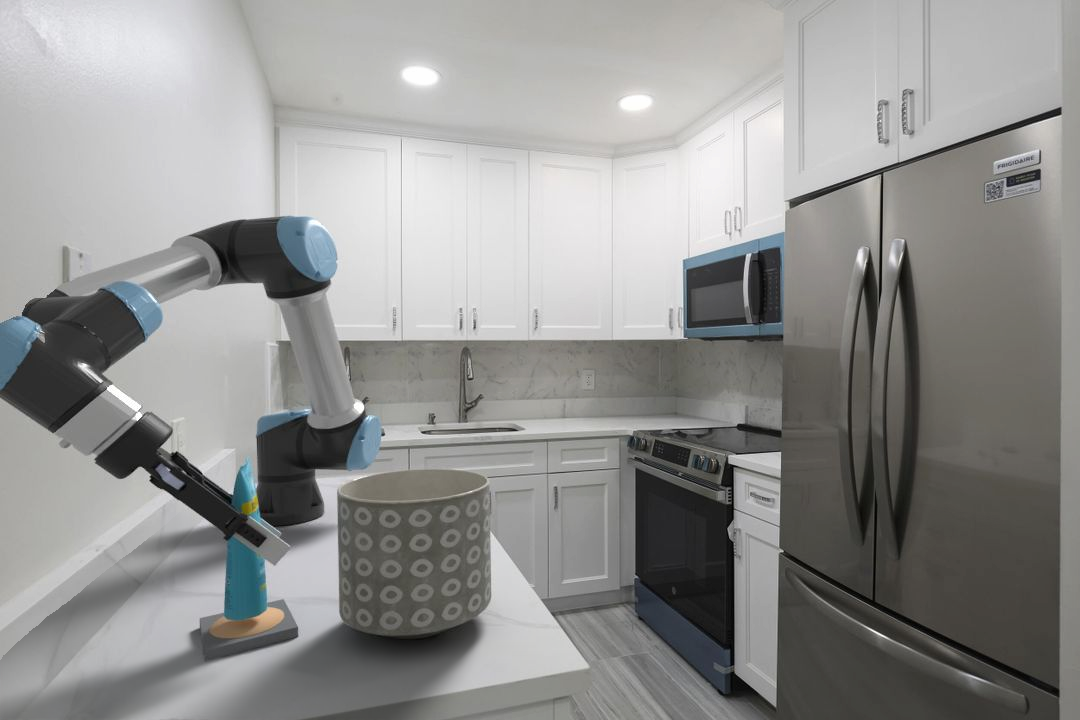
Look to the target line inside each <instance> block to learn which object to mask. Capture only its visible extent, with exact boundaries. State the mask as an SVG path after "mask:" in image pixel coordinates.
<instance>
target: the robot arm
mask: <svg viewBox="0 0 1080 720" xmlns="http://www.w3.org/2000/svg"><path fill="white" fill-rule="evenodd" d="M338 259H339V258H338V252H337V247H336V244H335V241H334V240H333V237H332V235H331V233H330V232H329V231H328V229H327V228H326V227H325V225H324V224H323V223H320V221H319V220H318V219H316V218H314V217H310V216H295V215H285V216H284V215H283V216H282V215H281V216H272V217H260V218H259V217H258V218H251V219H235V220H230V221H226V222H222V223H219V224H217V225H213V226H210V227H207V228H205V229H202V230H198V231H196V232H194V233H191V234H188V235H184V236H182V237H178V238H177V239H176V240H174V241H173V242H172V244H171V245H170V247H167V248H164V249H162V250H161V249H160V250H157V251H155V252H153V253H149V254H146V255H142V256H140V257H139V256H138V257H137V258H134V259H131V260H128V261H127V260H126V261H125V262H121V263H118V264H114V265H111V266H108V267H106V268H105V267H104V268H102V269H99V270H96V271H92V272H89V273H87V274H84V275H83V274H82V275H80V276H77V277H75V279H74V278H73V279H74V280H72V281H70V282H67V283H63V284H61V285H59V286H58V287H57V288H56V289H55V290H54V291H53V292H51V293H50V294H49V295H47V297H46V298H34V299H32V300H30V301H29V302H28V303H27V304H26V305H25V308H24V310H23V312H22V316H16V317H13V318H11V319H9V320H6V321H4V322H2V323H0V399H2V400H3V401H4V402H5V403H7V404H9V405H10V406H11V407H13V408H14V409H16V410H17V411H19V412H21V414H23V415H25V416H26V417H28V418H30V420H32V421H34V422H35V423H37V424H38V425H40V426H41V427H42V428H44V429H46V430H47V431H48V432H50V433H52V434H54V435H55V436H57V437H58V438H61V439H62V440H60V441H59V442H58V445H59V446H60V448H62V449H68V448H70V446H71V445H72V447H73V448H74V449H75V450H76V451H78V452H80V453H81V454H83V455H84V456H90V455H92V454H93V455H95V456H96V457H95V458H94V461H95V462H94V464H96V465H97V466H99V467H100V468H101V469H103V470H104V471H105V472H107V473H109V474H111V476H113V477H114V478H116V479H118V480H123V479H126V478H128V477H129V476H130V475H132V474H133V473H134V472H135V471H136V470H137V469H138V468H142V469H143V470H145V471H146V472H147V473H148V474H149V478H150V479H149V480H148V481H149V482H150V483H151V484H152V485H154V487H156V488H158V489H160V490H162V491H163V490H164V492H166V493H167V494H170V496H172V497H173V498H174V499H176V500H178V501H179V502H181V504H182V503H183V504H184V505H185V506H186V507H188V508H189V509H191V510H192V511H194V512H195V513H196V514H198V515H199V516H200V517H202V518H203V519H205V520H206V521H207V522H209V523H210V524H211V525H213V526H214V527H215V528H217V529H218V530H219V531H221V532H222V533H223V535H225V536H223V539H224V540H225V541H226V542H228V540H229V539H230V538H231V537H232V536H233V537H235V538H236V539H237V540H239V541H240V542H242V543H243V544H244V545H246V546H247V547H249V548H250V549H252V550H253V551H254V552H256V553H257V554H259V555H260V556H261V557H263V558H264V560H265V561H267V562H269V563H270V564H271V565H273V566H274V567H276V565H277V564H278V563H279V562H280V561H281V560H282V559H283V558H284V556H285V555H286V554H287V553H288V552H289V551H290V550H291V548H292V547H291V545H290V544H288V543H287V542H285V540H283V539H281V538H280V537H281V536H282V534H283V533H282V532H281V531H279V530H278V529H276V528H275V527H276V526H286V525H295V524H300V523H301V524H302V523H305V522H309V521H313V520H315V519H318V518H319V517H321V516H323V515H324V514H325V501H324V498H323V495H322V492H321V490H320V488H319V487H320V486H319V485H318V482H317V479H316V470H320V471H321V470H322V471H323V470H325V471H327V470H328V471H335V470H336V471H348V472H351V471H359V470H360V471H362V470H365V469H368V468H370V467H371V466H372V464H373V463H374V462H375V461H376V459H377V456H378V454H379V451H380V449H381V448H380V447H381V443H382V433H383V432H382V425H381V421H380V419H379V418H378V417H377V416H376V415H373V414H369V415H367V412H366V409H365V405H364V402H363V401H361V400H360V399H357V398H355V396H354V392H353V389H352V386H351V382H350V381H351V380H350V377H349V374H348V370H347V368H346V367H347V366H346V363H345V359H344V356H343V352H342V348H341V345H340V341H339V337H338V334H337V329H336V326H335V323H334V320H333V315H332V312H331V308H330V304H329V301H328V297H327V292H328V291H329V289H330V288H331V286H332V280H331V279H332V278H333V277H335V275H336V273H337V269H338V263H337V260H338ZM236 284H262V285H263V288H264V291H265V294H266V298H267V299H269V300H270V301H273V302H275V303H277V304H278V305H279V309H280V310H279V311H280V312H281V317H282V319H283V322H284V324H285V328H286V333H287V335H288V339H289V342H290V344H291V346H292V351H293V354H294V358H295V360H296V363H297V366H298V370H299V374H300V376H301V378H302V379H301V380H302V383H303V386H304V389H305V392H306V394H307V398H308V402H309V406H310V408H305V409H298V410H292V411H291V410H290V411H285V412H284V411H283V412H278V413H272V414H265V415H262V416H260V417H259V419H258V420H257V423H256V434H255V438H256V459H257V461H256V462H257V463H256V465H257V469H256V470H257V471H256V472H257V483H256V484H257V485H256V493H257V498H258V505H259V512H260V520H261V524H260V523H258V522H257V521H255V520H254V519H253V518H251V517H250V516H248V517H247V515H246V514H243V513H242V512H240V511H239V510H238V509H236V508H235V507H234V506H233V505H231V504H232V497H233V493H229V492H227V491H226V490H225V489H223V488H222V487H221V486H219V485H218V484H216V483H215V482H214V481H213V480H211V479H210V478H208V477H207V476H206V475H205V474H204V473H203V472H202V471H201V470H200V469H199V468H198V467H197V466H195V465H193V463H191V462H190V461H189V460H188V458H186V456H185V455H184V454H182V453H181V452H180V451H178V450H176V451H175V452H173V451H172V452H171V453H170V452H168V451H167V450H165V449H164V448H163V447H162V446H163V445H164V444H165V443H166V442H167V441H168V440H169V439H170V437H171V436H172V435H173V433H174V429H173V427H172V426H171V425H170V424H168V423H167V422H165V421H164V420H162V418H160V417H159V416H158V415H156V414H155V413H153V412H152V411H146V412H143V411H142V409H143V407H144V405H143V403H141V402H140V401H138V400H137V399H136V398H135V397H134V396H132V395H131V394H129V393H128V392H127V391H125V390H124V389H123V388H121V386H120V385H118V384H116V383H115V382H113V381H112V380H110V379H109V378H108V377H106V376H105V375H104V373H105V372H106V371H108V369H109V368H111V367H112V366H113V365H115V364H116V363H117V362H119V361H120V360H122V359H123V358H124V357H125V356H127V355H128V354H129V353H131V352H133V350H134V349H136V348H137V347H139V346H140V345H141V344H144V343H146V342H147V341H148V338H149V337H150V336H152V334H154V333H155V332H156V331H157V330H158V329H159V328H160V326H161V325H162V323H163V319H164V318H163V317H164V316H163V315H164V314H163V310H162V308H161V306H160V305H161V304H163V303H165V302H167V301H170V300H173V299H174V298H176V297H179V296H182V295H184V294H186V293H188V292H191V291H193V290H197V291H207V290H211V289H213V288H216V287H218V286H224V285H236ZM274 526H275V527H274Z"/></svg>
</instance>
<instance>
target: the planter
mask: <svg viewBox="0 0 1080 720" xmlns="http://www.w3.org/2000/svg"><path fill="white" fill-rule="evenodd" d="M490 487H491V486H490V479H489V478H488V477H487V476H486V475H484V474H481V473H479V472H474V471H469V470H463V469H462V470H461V469H449V468H424V469H423V468H421V469H418V468H417V469H401V470H395V471H387V472H386V471H385V472H379V473H373V474H369V475H365V476H360V477H357V478H354V479H350V480H348V481H346V482H344V483H342V484H341V485H339V487H338V488H337V490H336V491H337V492H336V495H337V496H336V499H337V501H336V502H337V503H336V504H337V506H336V507H337V552H338V553H337V555H338V556H337V560H338V565H337V566H338V606H339V607H338V609H339V610H338V612H339V616H340V619H341V621H343V622H344V623H345V624H346V625H347V626H348V627H350V628H352V629H354V630H357V631H360V632H361V633H366V634H371V635H377V636H383V637H386V638H391V639H397V640H398V639H399V640H419V639H424V638H428V637H433V636H435V635H436V636H437V635H439V634H441V633H444V632H446V631H449V630H450V629H452V628H454V627H458V626H460V625H462V624H464V623H467V622H468V621H471V620H472V619H474V618H476V617H478V616H479V615H480V614H481V613H482V612H484V611H485V610H486V609H487V608H488V606H489V605H490V603H491V599H492V556H491V555H492V552H491V549H492V548H491V547H492V546H491V496H490V495H491V492H490V491H491V489H490Z"/></svg>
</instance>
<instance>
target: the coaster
mask: <svg viewBox="0 0 1080 720" xmlns="http://www.w3.org/2000/svg"><path fill="white" fill-rule="evenodd" d="M199 630H200V639H201V645H202V651H203V659H204V662H206V661H210V660H213V659H214V658H215V659H218V658H221V657H226V656H230V655H233V654H236V653H237V654H238V653H240V652H244V651H248V650H252V649H256V648H260V647H263V646H267V645H270V644H275V643H278V642H282V641H286V640H290V639H293V638H297V637H299V626H298V624H297V622H296V620H295V618H294V616H293V614H292V613H291V611H290V608H289V607H288V604H287V602H286V600H285V599H284V598H283V599H278V600H274V601H273V600H272V601H270V602H267V610H266V611H265V612H263V613H262V614H260V615H259V616H257V617H254V618H250V619H246V620H228V619H226V618H225V617H224V612H221V613H217V614H211V615H207V616H203V617H200V618H199Z"/></svg>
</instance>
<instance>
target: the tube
mask: <svg viewBox="0 0 1080 720" xmlns="http://www.w3.org/2000/svg"><path fill="white" fill-rule="evenodd" d="M253 473H254V472H253V469H252V465H251V461H250V455H248V456H247V458H246V460H245V462H244V464H242V465H241V466H240V468H239V470H238V472H237V474H236V477H235V481H234V486H233V491H232V495H233V497H232V504H231V505H233V506H234V507H235V508H236V509H238V510H239V511H240V512H242V513H243V514H246V515H247V517H248V516H250V517H251V518H253V519H254V520H255V521H257V522H258V523H260V524H261V520H260V512H259V505H258V498H257V493H256V488H257V486H256V482H255V478H254V474H253ZM265 562H266V559H264V558H263V557H261V556H260V555H259V554H257V553H256V552H254V551H253V550H252V549H250V548H249V547H247V546H246V545H244V544H243V543H242V542H240V541H239V540H237V539H236V538H235V537H233V536H232V537H231V538H230V539H229V540H228V541H227V544H226V561H225V583H224V601H223V603H224V605H223V608H224V609H223V613H224V617H225V618H226V619H228V620H246V619H250V618H254V617H257V616H259V615H260V614H262V613H263V612H265V611H266V610H267V603H268V593H267V573H266V563H265Z"/></svg>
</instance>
